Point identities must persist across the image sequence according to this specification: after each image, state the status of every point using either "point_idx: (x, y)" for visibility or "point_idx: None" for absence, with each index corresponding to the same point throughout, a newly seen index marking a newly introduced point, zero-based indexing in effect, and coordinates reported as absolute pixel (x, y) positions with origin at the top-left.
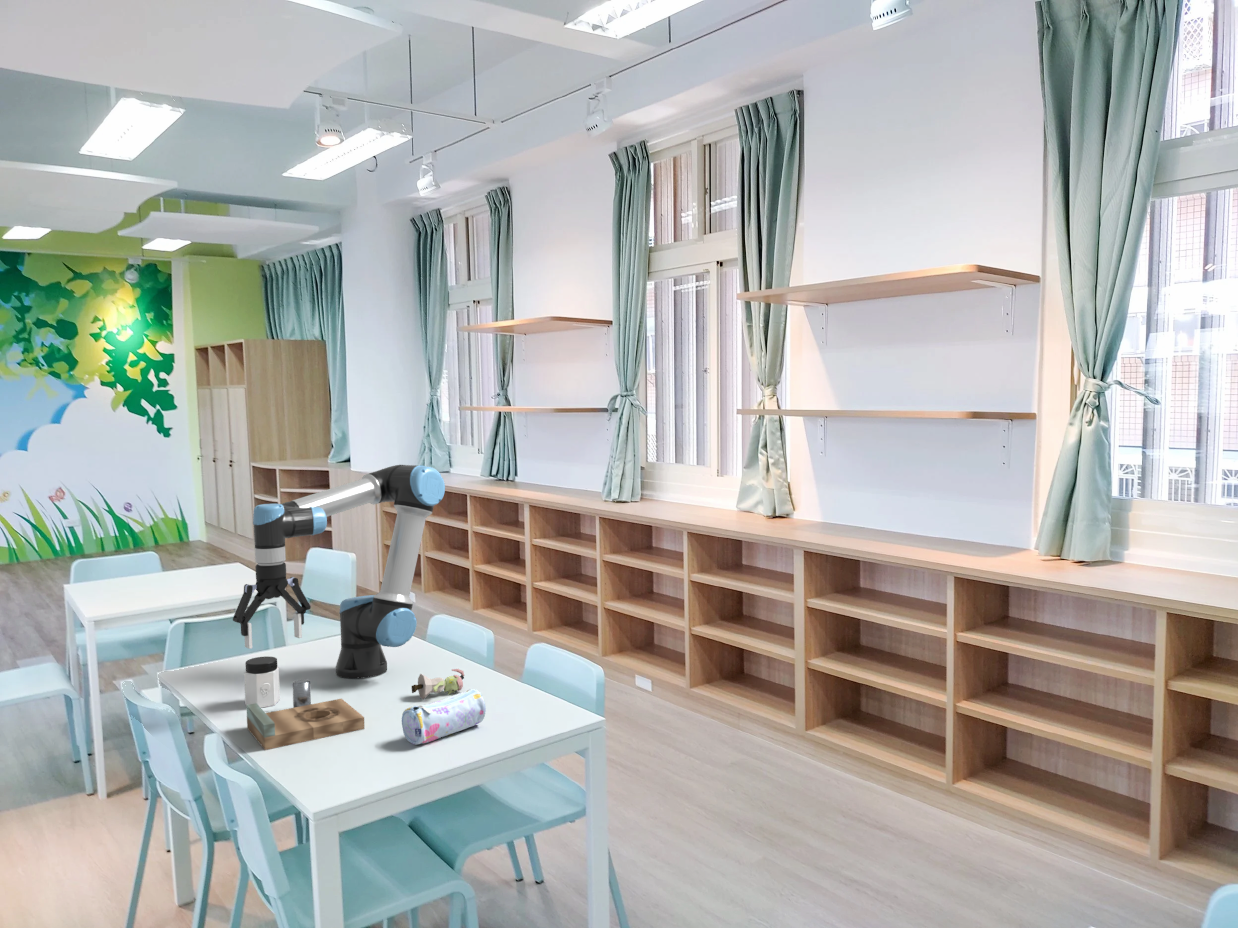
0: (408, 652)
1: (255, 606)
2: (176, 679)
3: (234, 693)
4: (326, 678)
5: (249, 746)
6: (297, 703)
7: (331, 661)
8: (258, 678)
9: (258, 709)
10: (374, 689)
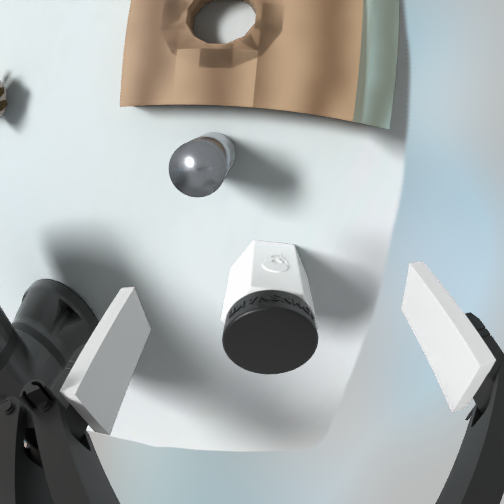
0: None
1: (489, 496)
2: (320, 432)
3: None
4: None
5: None
6: (226, 143)
7: None
8: (295, 284)
9: (378, 64)
10: (49, 205)
